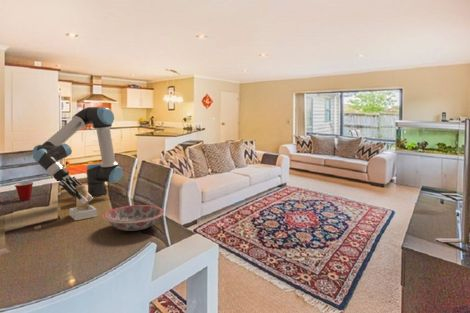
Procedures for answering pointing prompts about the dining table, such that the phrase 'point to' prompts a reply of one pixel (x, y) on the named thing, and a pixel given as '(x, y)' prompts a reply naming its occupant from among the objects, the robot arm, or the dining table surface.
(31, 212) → the dining table surface
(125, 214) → the ceramic bowl
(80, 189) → the oak rail post
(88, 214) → the square tray
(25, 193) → the plastic cup
